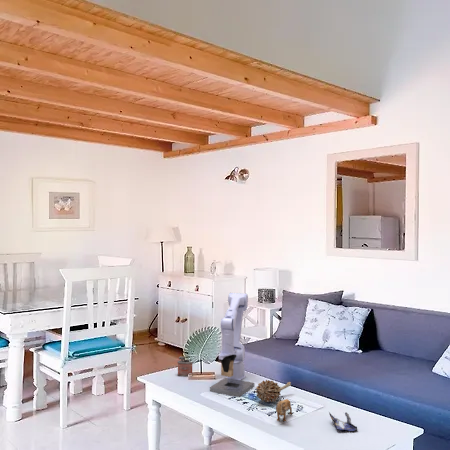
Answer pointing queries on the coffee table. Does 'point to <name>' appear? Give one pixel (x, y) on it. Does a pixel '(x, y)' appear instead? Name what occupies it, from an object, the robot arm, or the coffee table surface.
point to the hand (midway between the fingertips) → (227, 370)
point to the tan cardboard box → (230, 372)
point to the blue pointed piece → (344, 424)
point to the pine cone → (269, 390)
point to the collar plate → (232, 387)
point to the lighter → (184, 367)
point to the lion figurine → (283, 409)
